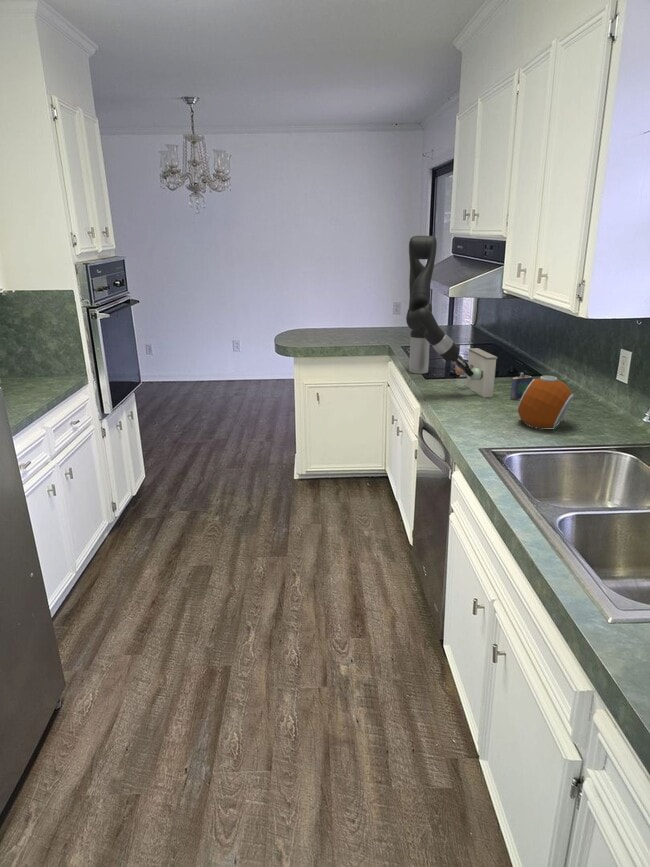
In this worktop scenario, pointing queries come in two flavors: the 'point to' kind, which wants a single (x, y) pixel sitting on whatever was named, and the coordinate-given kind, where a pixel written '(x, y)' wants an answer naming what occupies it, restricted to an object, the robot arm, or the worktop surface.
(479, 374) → the sage button
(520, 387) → the flask
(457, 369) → the terracotta button
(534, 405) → the alarm clock
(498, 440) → the worktop surface
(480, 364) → the panel
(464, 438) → the worktop surface
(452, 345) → the robot arm
